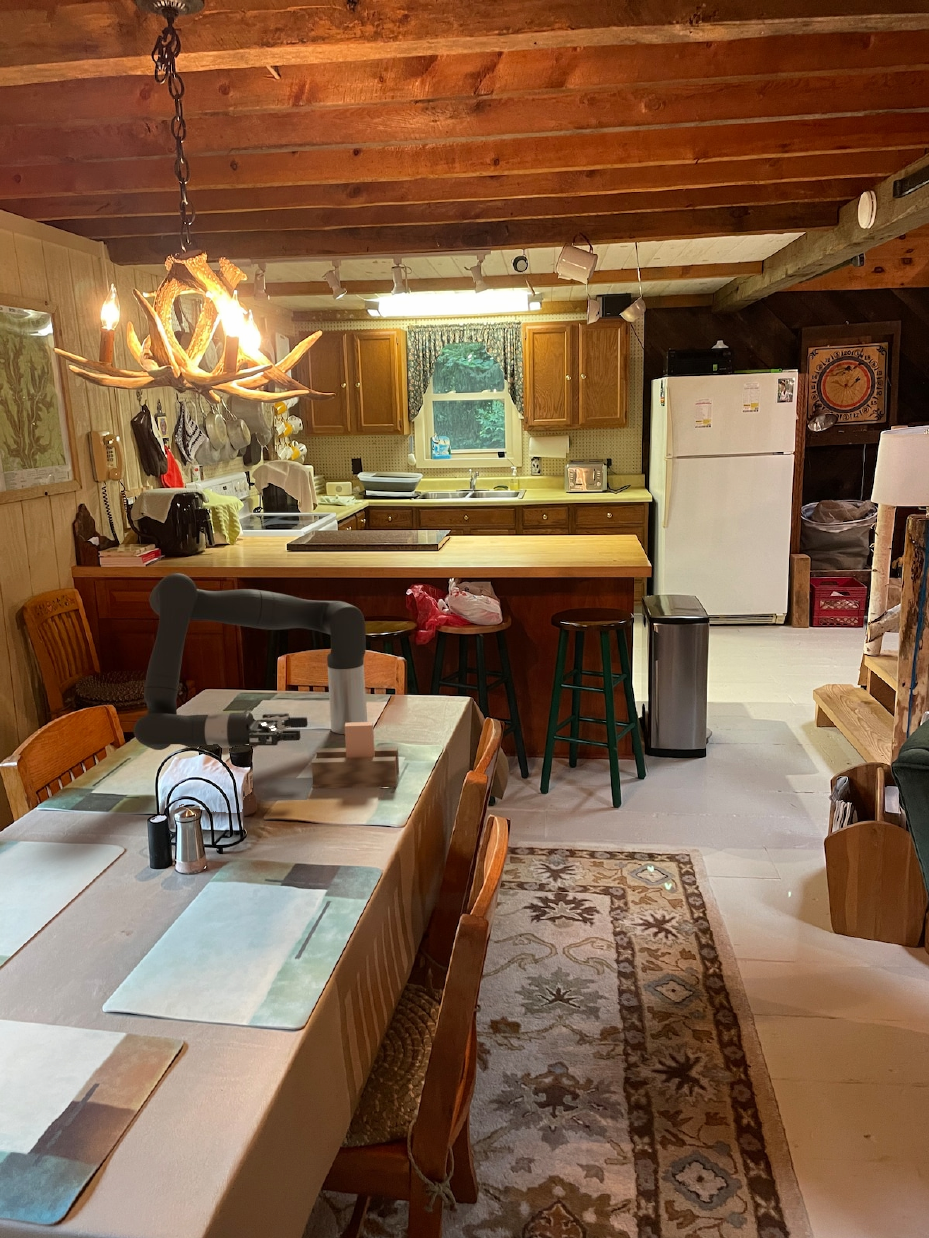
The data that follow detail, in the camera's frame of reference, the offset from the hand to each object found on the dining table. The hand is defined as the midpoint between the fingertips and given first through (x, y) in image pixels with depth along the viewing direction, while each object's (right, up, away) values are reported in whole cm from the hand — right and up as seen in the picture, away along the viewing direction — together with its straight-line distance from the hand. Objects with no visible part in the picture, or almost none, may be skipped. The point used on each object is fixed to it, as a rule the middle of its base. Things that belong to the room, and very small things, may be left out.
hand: (303, 728), depth 198 cm
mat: (-3, -13, -2) cm, 14 cm away
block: (+12, -11, +2) cm, 17 cm away
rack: (+11, -12, +3) cm, 17 cm away
